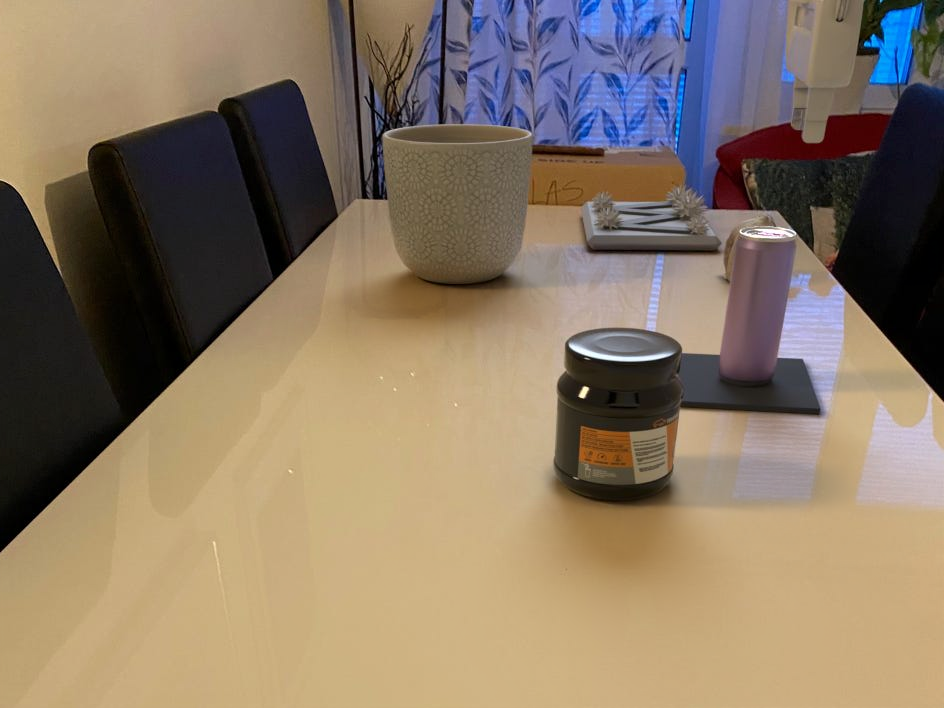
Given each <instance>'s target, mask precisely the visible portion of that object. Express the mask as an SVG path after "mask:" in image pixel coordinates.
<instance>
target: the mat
mask: <svg viewBox="0 0 944 708" xmlns="http://www.w3.org/2000/svg"><path fill="white" fill-rule="evenodd" d="M719 357H720V354H714V353H713V354H709V353H693V352H690V353H689V352H682V358H681V366H680V371H679V373H678V374H677V376H678V378H679V379H680V381H681V382H682V384H683V388H684V394H683V399H682V401H681V405H680V408H681V407H682V408H699V409H716V410H717V409H720V410H735V411H755V412H769V413H771V412H773V413H788V414H789V413H790V414H808V415H820V414H821V407H820V404H819V400H818V397H817V395H816V392H815V389H814V387H813V383H812V381H811V378H810V375H809V372H808V369H807V367H806V364H805V360H804V359H803V358H797V357H796V358H794V357H792V358H791V357H777V363H776V369H775V374H774V377H773V378H772V379H771V381H770V382H769V383H767V384H765V385H762V386H757V387H743V386H736V385H732V384H729V383H726V382H724V381H723V380H722V379H721V378H720V376H719V373H718V364H719Z"/></svg>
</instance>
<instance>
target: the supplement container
mask: <svg viewBox="0 0 944 708" xmlns="http://www.w3.org/2000/svg"><path fill="white" fill-rule="evenodd" d="M682 353H683V346H682V345H681V344H680V342H679V341H677V339H675V338H673V337H672V336H669V335H668V334H664V333H661V332H657V331H653V330H649V329H643V328H634V327H600V328H594V329H587V330H584V331H583V330H582V331H580V332H577V333H575V334H573V335H571V336H570V337H569V338H568V339H567V340H566V341H565V342H564V352H563V367H564V369H565V370H564V371H563V372H562V373H561V375H560V376H559V377H558V379H557V381H556V388H555V389H556V395H557V398H556V399H557V400H556V402H557V403H556V419H555V420H556V421H555V436H554V437H555V439H554V440H555V441H554V456H553V460H552V461H553V462H552V465H553V466H552V467H553V472H554V475H555V477H556V478H557V480H558V481H559V482H560V483H561V485H563V486H565V487H566V488H567V489H569V490H571V491H572V492H575V493H576V494H578V495H582V496H585V497H588V498H593V499H597V500H603V501H605V500H606V501H631V500H632V501H633V500H638V499H642V498H646V497H649V496H651V495H655V494H656V493H658V492H660V491H661V490H663V489H664V488H665V487H666V486H668V484H669V482H670V481H671V479H672V477H673V475H674V470H675V465H674V462H675V461H674V460H675V454H676V453H675V452H676V445H677V438H678V437H677V435H678V427H679V421H680V420H679V419H680V412H681V407H680V405H681V401H682V399H683V394H684V388H683V384H682V382H681V381H680V379H679V378H678V373H679V371H680V366H681V358H682Z"/></svg>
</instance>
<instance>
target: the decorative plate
mask: <svg viewBox="0 0 944 708" xmlns="http://www.w3.org/2000/svg"><path fill="white" fill-rule="evenodd" d="M682 184H683V183H682V182H681V183H680V186H679V187H677V186H676V185H674V186H672V187H670V189H671V191H668V192H666V194H664V196H665V197H666V198H665V201H615V200H612V199H614V196H613V193H611V194H610V195H608V194H609V193H608V192H609V191H608V190H607V191H606V193H605V190H603V192H602V193H601V192H600V191H598V192H597V193H595V196H594V197H592V198H591V201H586V202H585V203H584V204H583V205H582V206H581V207H580V210H581V216H582V217H581V218H582V222H583V229H584V233H585V240H586V244H587V245H588V246H589V247H590V248H591V249H592V250H599V251H600V250H602V251H603V250H605V251H606V250H607V251H608V250H611V251H613V250H615V251H713V252H714V251H716V250H717V249H718V248H720V246H721V245H722V243H723V242H722V241H721V239H720V238H719V236H718V234H717V233H716V232H715V230H714V228H713V227H712V226H711V224H710V223H709V222H710V220H709V219H708V217H705V215H706V213H705V212H709V211H710V210H709V209H708V210H707V208H709V206H707V205H702V204H703V203H704V202H705V201H706V199H707V198H706V199H705V197H703V196H704V194H702V195H701V196H699V197H697V192H698V190H696V191H695V192H694V190H693V189H692V188H689V189H687V184H685V185H684V187H683V185H682Z"/></svg>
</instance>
